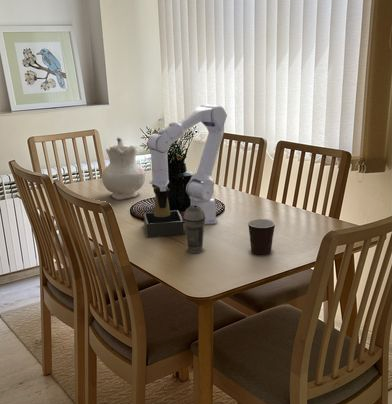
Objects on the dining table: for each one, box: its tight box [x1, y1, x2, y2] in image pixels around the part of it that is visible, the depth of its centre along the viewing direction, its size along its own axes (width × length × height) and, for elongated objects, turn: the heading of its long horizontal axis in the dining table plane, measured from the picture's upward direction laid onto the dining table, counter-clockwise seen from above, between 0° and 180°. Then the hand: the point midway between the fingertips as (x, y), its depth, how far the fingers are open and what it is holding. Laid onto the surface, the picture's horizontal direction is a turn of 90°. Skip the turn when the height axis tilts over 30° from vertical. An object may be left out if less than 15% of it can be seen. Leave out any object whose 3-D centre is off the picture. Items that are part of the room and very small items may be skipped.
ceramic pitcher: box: [101, 136, 146, 201], centre depth 244 cm, size 22×20×25 cm
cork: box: [153, 186, 171, 217], centre depth 196 cm, size 6×6×11 cm
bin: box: [143, 209, 185, 238], centre depth 202 cm, size 13×13×5 cm
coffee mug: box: [248, 218, 276, 257], centre depth 180 cm, size 12×9×10 cm
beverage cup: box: [182, 192, 205, 254], centre depth 180 cm, size 7×7×20 cm
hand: (161, 205), depth 197 cm, fingers closed on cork, 5 cm apart
